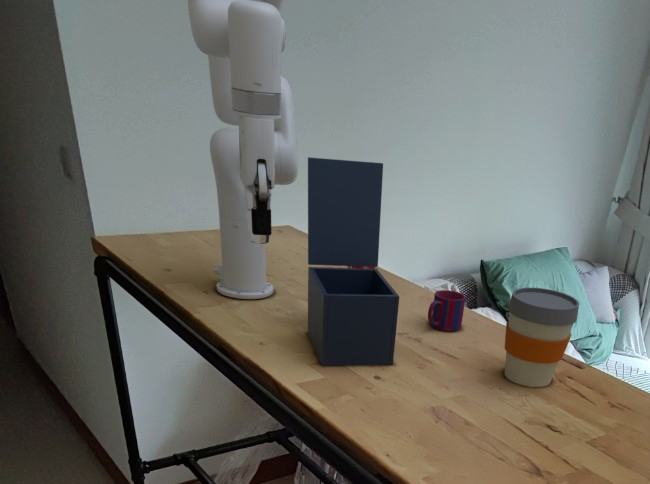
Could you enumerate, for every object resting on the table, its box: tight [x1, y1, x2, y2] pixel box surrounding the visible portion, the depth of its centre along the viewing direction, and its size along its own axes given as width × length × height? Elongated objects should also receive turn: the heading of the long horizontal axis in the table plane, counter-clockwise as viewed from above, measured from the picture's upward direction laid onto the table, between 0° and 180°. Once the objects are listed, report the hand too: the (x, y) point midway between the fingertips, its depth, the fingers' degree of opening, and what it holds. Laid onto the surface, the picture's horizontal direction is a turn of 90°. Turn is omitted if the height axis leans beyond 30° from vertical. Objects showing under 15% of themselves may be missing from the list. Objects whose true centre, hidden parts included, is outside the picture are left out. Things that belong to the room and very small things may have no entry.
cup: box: [427, 289, 467, 333], centre depth 139 cm, size 7×10×7 cm
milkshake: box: [244, 184, 273, 245], centre depth 110 cm, size 4×5×10 cm
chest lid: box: [307, 157, 384, 268], centre depth 120 cm, size 18×14×1 cm
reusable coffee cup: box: [504, 287, 580, 388], centre depth 120 cm, size 13×12×15 cm
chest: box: [307, 266, 400, 367], centre depth 123 cm, size 17×14×13 cm
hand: (260, 229), depth 111 cm, fingers closed on milkshake, 4 cm apart
